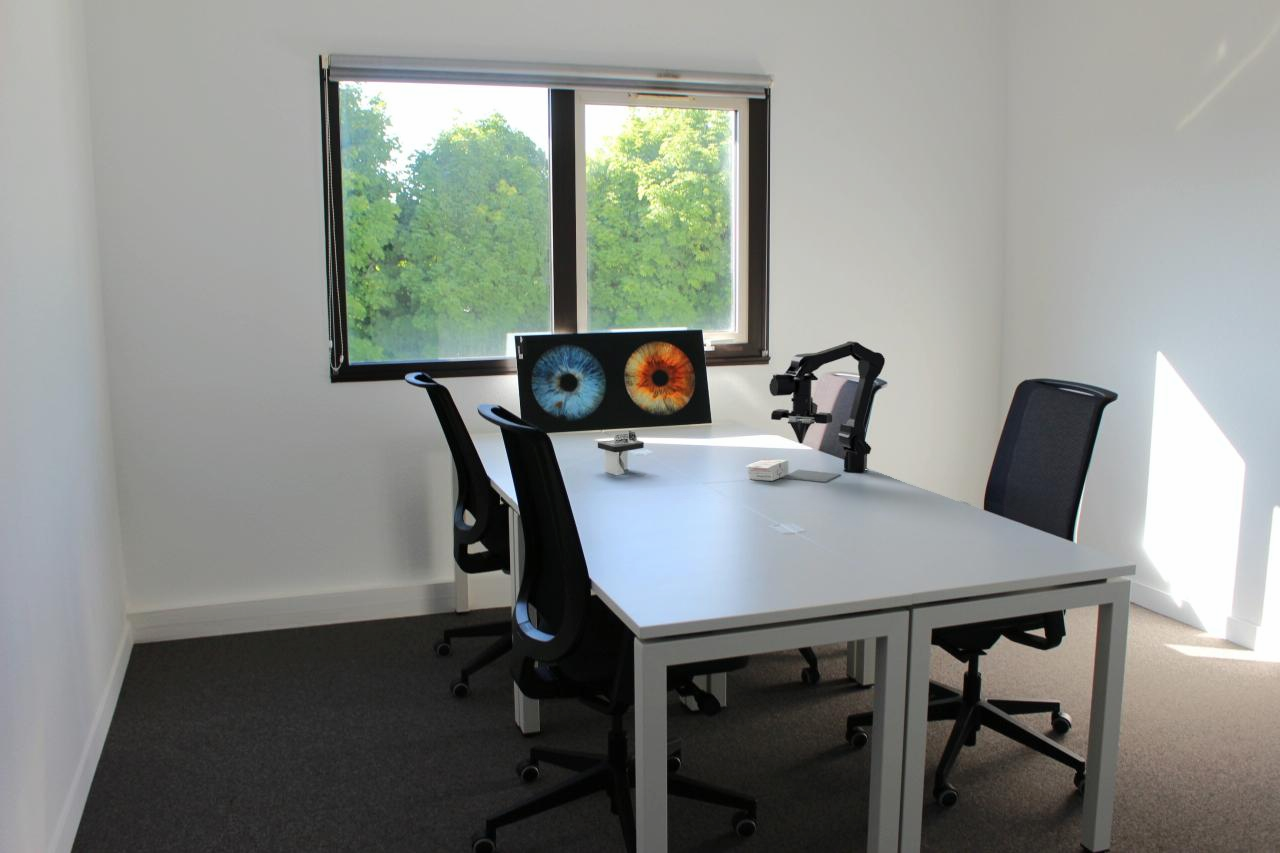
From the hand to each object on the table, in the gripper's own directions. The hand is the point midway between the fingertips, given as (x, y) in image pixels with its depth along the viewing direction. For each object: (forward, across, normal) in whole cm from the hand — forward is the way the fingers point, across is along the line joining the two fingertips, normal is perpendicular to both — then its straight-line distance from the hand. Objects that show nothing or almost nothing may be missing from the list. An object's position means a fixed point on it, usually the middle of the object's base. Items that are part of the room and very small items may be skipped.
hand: (800, 443), depth 347 cm
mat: (+10, -4, 0) cm, 11 cm away
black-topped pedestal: (+11, +52, +24) cm, 58 cm away
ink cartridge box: (+8, +7, +2) cm, 11 cm away
